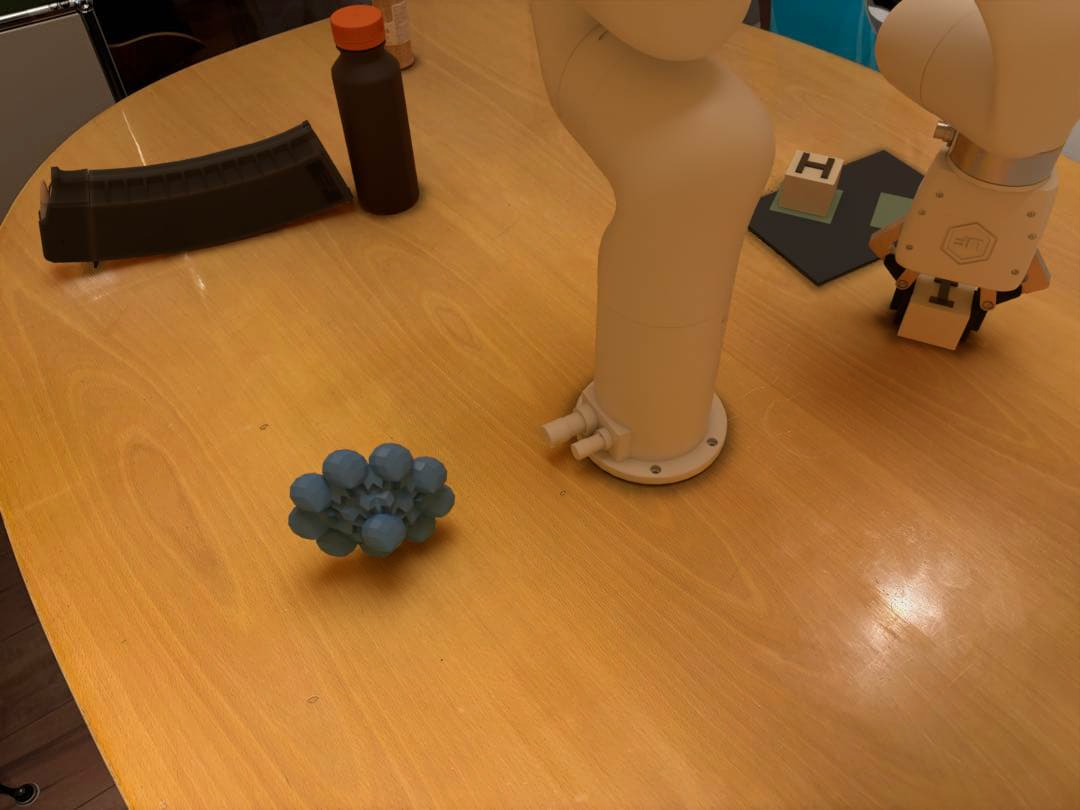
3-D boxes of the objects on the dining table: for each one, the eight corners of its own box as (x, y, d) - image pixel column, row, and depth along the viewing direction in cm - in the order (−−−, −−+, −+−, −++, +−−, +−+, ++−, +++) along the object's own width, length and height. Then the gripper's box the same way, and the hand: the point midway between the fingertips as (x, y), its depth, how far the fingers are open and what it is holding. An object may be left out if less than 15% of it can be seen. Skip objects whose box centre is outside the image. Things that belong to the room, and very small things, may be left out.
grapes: (322, 625, 61) (280, 530, 52) (302, 549, 66) (260, 449, 57) (478, 568, 64) (463, 469, 55) (449, 500, 68) (431, 397, 59)
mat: (824, 291, 84) (825, 288, 83) (720, 205, 93) (720, 201, 93) (987, 220, 91) (988, 216, 90) (874, 146, 100) (875, 143, 100)
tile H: (825, 217, 91) (834, 182, 88) (778, 206, 92) (785, 171, 89) (835, 191, 94) (845, 156, 91) (789, 181, 95) (797, 146, 92)
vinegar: (346, 195, 96) (306, 14, 81) (398, 172, 99) (368, -7, 84) (379, 223, 93) (342, 39, 78) (431, 199, 95) (406, 17, 81)
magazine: (357, 117, 90) (21, 95, 77) (364, 132, 88) (21, 113, 75) (340, 254, 101) (45, 256, 88) (347, 271, 99) (45, 275, 86)
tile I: (954, 350, 78) (970, 315, 75) (896, 335, 79) (910, 299, 76) (961, 316, 81) (977, 280, 78) (906, 302, 82) (919, 266, 79)
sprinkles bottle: (373, 64, 116) (355, -42, 106) (399, 51, 119) (383, -53, 109) (396, 74, 114) (380, -32, 104) (422, 61, 117) (408, -44, 106)
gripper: (880, 150, 67) (828, 324, 80) (1126, 200, 62) (1026, 377, 75) (897, 103, 71) (845, 276, 85) (1128, 147, 66) (1033, 323, 80)
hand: (931, 322), depth 80 cm, fingers closed on tile I, 5 cm apart
